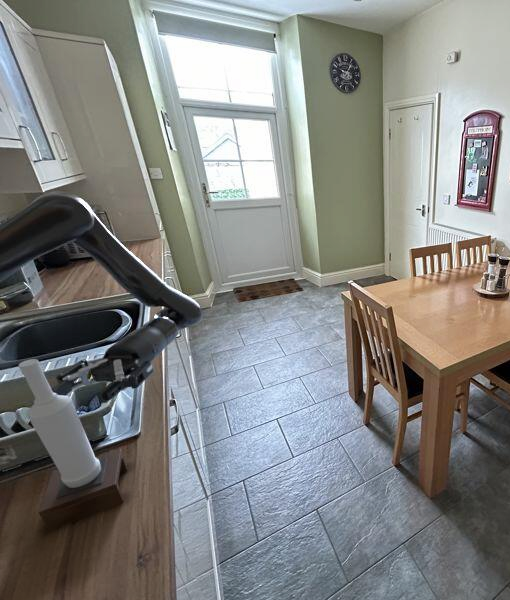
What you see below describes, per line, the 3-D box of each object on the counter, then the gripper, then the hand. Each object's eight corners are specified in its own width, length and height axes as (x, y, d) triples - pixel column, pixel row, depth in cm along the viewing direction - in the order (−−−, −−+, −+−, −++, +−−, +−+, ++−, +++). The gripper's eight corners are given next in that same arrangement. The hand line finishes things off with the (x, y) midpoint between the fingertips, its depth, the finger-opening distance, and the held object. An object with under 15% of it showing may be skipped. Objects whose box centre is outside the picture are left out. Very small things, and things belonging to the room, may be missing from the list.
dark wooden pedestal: (49, 531, 56) (37, 511, 54) (62, 489, 63) (52, 470, 61) (123, 502, 61) (115, 483, 59) (127, 466, 68) (120, 448, 66)
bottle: (99, 481, 59) (46, 367, 49) (60, 494, 57) (-4, 377, 47) (104, 459, 63) (56, 350, 53) (68, 471, 61) (10, 358, 51)
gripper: (99, 334, 71) (23, 381, 56) (167, 335, 72) (110, 382, 57) (109, 362, 74) (41, 415, 59) (175, 363, 75) (123, 415, 60)
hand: (75, 399), depth 58 cm, fingers open, 8 cm apart
